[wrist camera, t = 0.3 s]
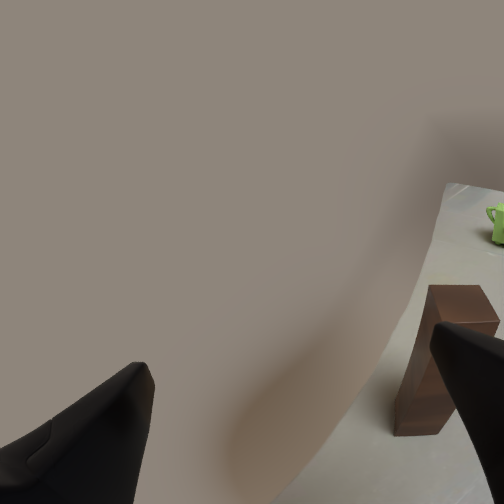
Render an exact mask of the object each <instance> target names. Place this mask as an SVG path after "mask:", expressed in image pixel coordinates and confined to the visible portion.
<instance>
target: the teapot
mask: <svg viewBox="0 0 504 504" xmlns="http://www.w3.org/2000/svg"><path fill="white" fill-rule="evenodd" d="M492 210H496V214H495V220H494V218H493V216H492V213H491V211H492ZM486 212H487V215H488V217H489V218H490V220H491V221H492V222H493V224H494V230H493V236H492V240H493V241H495V243H496V244H498V245H501V243H503V244H504V204H503V203H498V205H497V207H487V209H486Z"/></svg>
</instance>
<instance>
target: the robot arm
mask: <svg viewBox="0 0 504 504" xmlns="http://www.w3.org/2000/svg"><path fill="white" fill-rule="evenodd" d="M429 349H430V352H431V354H432V357H433V359H434V361H435V364H436V366H437V368H438V371H439V373H440V375H441V378H442V380H443V383H444V385H445V387H446V389H447V391H448V393H449V395H450V397H451V399H452V401H453V403H454V405H455V407H456V409H457V411H458V413H459V415H460V417H461V419H462V421H463V423H464V425H465V427H466V429H467V432H468V434H469V436H470V438H471V441H472V443H473V445H474V448H475V450H476V452H477V455H478V457H479V460H480V462H481V465H482V468H483V470H484V473H485V476H486V477H487V478H486V479H487V482H488V485H489V488H490V491H491V494H492V497H493V501H494V504H504V340H501V339H498V338H495V337H492V336H489V335H486V334H484V333H481V332H478V331H475V330H472V329H469V328H466V327H463V326H460V325H457V324H454V323H451V322H448V321H442V322H439V323H437V324H435V326H434V328H433V332H432V336H431V340H430V344H429ZM154 391H155V384H154V380H153V378H152V376H151V373H150V371H149V369H148V366H147V365H146V363H144V362H132V363H130V364H129V365H128V366H126V367H125V368H123V369H122V370H120V371H119V372H118V373H116V374H115V375H114V376H112V377H111V378H110V379H108V380H106V381H105V382H104V383H102V384H101V385H99V386H98V387H96V388H95V389H94V390H92V391H91V392H89V393H88V394H86V395H85V396H84V397H82V398H81V399H79V400H78V401H77V402H75V403H74V404H72V405H71V406H69V407H68V408H66V409H65V410H63V411H62V412H61V413H59V414H57V415H56V416H55V417H53V418H52V420H49V421H47V422H46V423H44V424H43V425H41V426H40V427H38V428H37V429H35V430H34V431H32V432H30V433H28V434H27V435H25V436H23V437H21V438H19V439H18V440H16V441H14V442H12V443H10V444H8V445H6V446H4V447H2V448H0V504H133V502H134V497H135V491H136V486H137V482H138V477H139V472H140V468H141V463H142V459H143V454H144V450H145V446H146V441H147V438H148V433H149V428H150V421H151V413H152V405H153V398H154Z"/></svg>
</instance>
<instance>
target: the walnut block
mask: <svg viewBox="0 0 504 504" xmlns="http://www.w3.org/2000/svg"><path fill="white" fill-rule="evenodd" d="M442 321H448V322H451V323H454V324H457V325H460V326H463V327H466V328H469V329H472V330H475V331H478V332H481V333H484V334H486V335H489V336H492V337H494V335H495V333H496V330H497V328H498V325H499V323H500V320H499V318H498V316H497V314H496V312H495V310H494V309H493V307H492V305H491V303H490V302H489V300H488V298H487V297H486V295H485V293H484V292H483V290H482V289H481V287H480V285H429V287H428V292H427V297H426V302H425V306H424V310H423V315H422V319H421V323H420V326H419V330H418V334H417V337H416V341H415V344H414V348H413V351H412V354H411V357H410V360H409V363H408V366H407V369H406V372H405V375H404V378H403V380H402V383H401V386H400V388H399V391H398V394H397V396H396V399H395V425H394V436H419V435H433V434H438V433H439V432H440V430H441V429H442V428H443V426H444V425H445V423H446V422H447V421H448V419H449V418H450V416H451V415H452V413H453V412H454V410H455V409H456V407H455V405H454V403H453V401H452V399H451V397H450V395H449V393H448V391H447V389H446V387H445V385H444V383H443V380H442V378H441V375H440V373H439V371H438V368H437V366H436V364H435V361H434V359H433V357H432V354H431V352H430V349H429V344H430V340H431V336H432V332H433V328H434V326H435V324H437V323H439V322H442Z"/></svg>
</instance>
